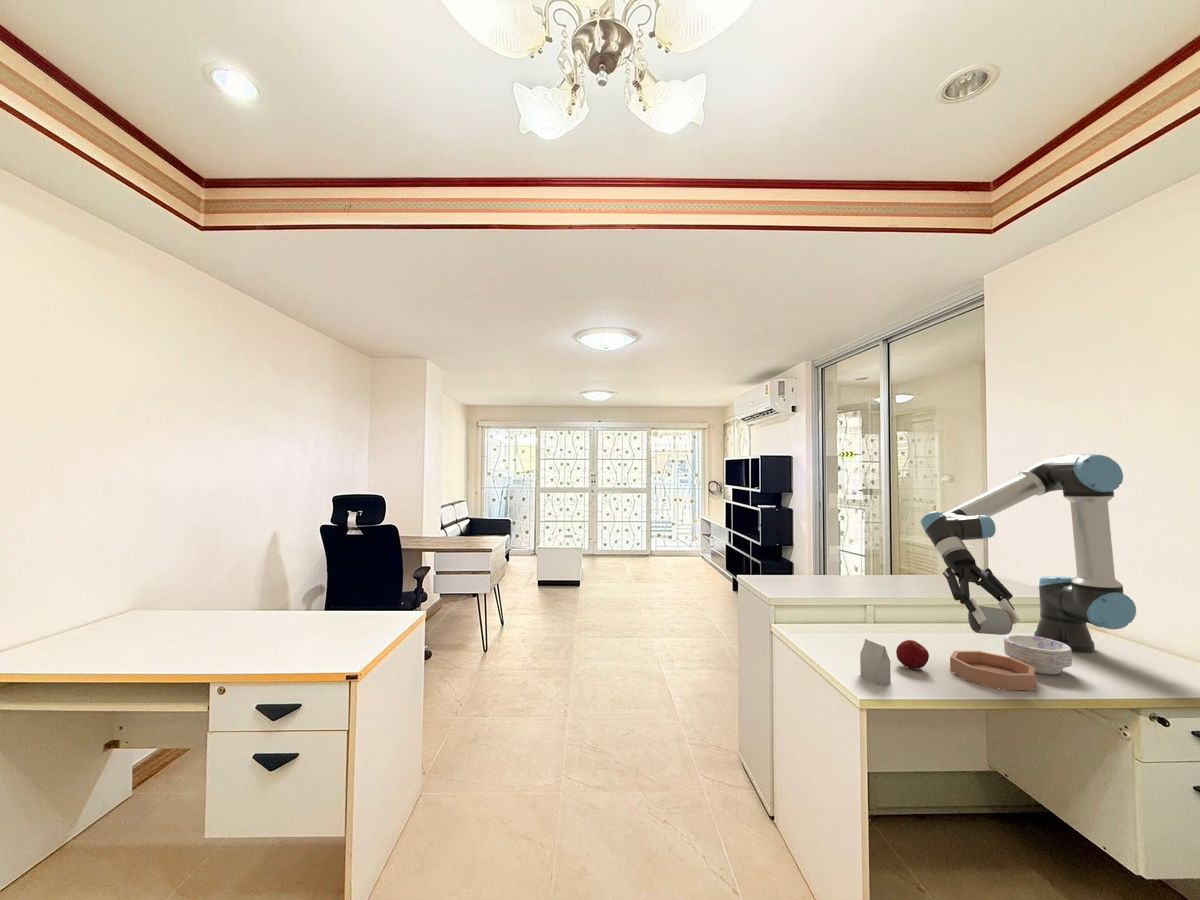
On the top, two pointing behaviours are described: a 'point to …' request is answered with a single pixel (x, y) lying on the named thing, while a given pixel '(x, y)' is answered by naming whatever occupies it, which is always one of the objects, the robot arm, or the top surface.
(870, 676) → the tea bag
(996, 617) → the ceramic mug
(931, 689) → the top surface
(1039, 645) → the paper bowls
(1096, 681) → the top surface
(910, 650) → the apple
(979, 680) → the terracotta bowl
